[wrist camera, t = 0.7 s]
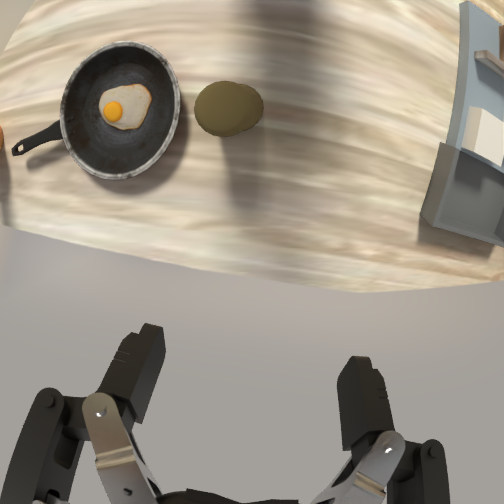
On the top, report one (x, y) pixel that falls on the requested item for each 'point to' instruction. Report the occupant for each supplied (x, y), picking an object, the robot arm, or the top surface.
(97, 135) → the frying pan
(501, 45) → the scraper
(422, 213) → the tray
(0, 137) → the potted plant
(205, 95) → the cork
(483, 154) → the tile
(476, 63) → the board
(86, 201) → the top surface
